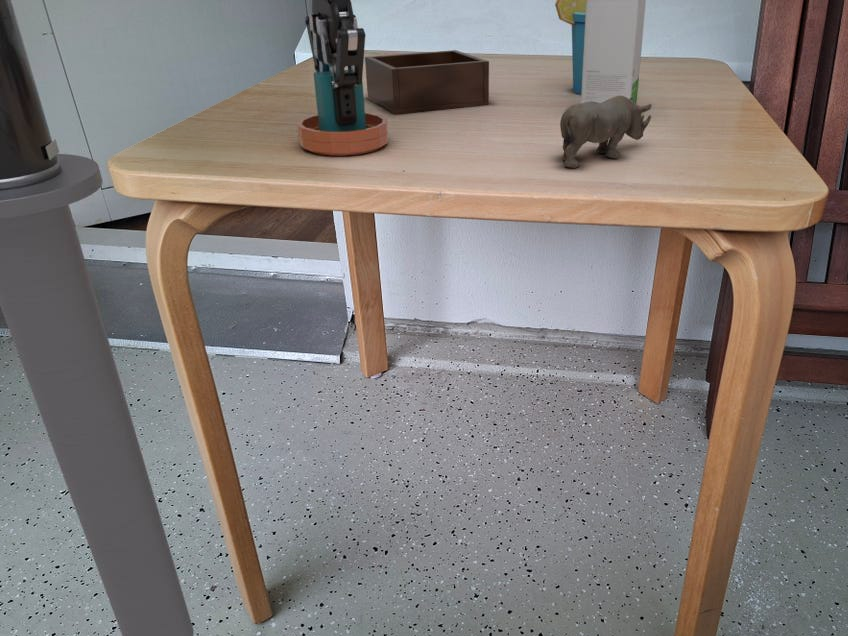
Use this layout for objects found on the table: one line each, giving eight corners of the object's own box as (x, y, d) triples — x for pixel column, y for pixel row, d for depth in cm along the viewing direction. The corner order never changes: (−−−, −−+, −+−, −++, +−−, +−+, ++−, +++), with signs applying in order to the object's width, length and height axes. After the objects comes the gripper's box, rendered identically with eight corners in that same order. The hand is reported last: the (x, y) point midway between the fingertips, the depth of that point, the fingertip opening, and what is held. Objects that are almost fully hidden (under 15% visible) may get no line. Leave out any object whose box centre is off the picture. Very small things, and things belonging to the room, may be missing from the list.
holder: (394, 114, 95) (391, 69, 93) (367, 98, 104) (364, 56, 101) (488, 104, 100) (489, 61, 98) (456, 90, 109) (455, 50, 106)
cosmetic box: (628, 123, 91) (642, -19, 83) (575, 119, 93) (584, -20, 85) (637, 108, 98) (651, -24, 90) (587, 105, 100) (597, -25, 92)
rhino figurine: (663, 148, 82) (671, 91, 78) (574, 171, 74) (578, 109, 71) (635, 140, 84) (641, 85, 81) (546, 162, 77) (549, 102, 74)
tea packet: (327, 144, 80) (320, 76, 77) (320, 138, 82) (313, 72, 79) (367, 140, 82) (362, 73, 78) (359, 134, 84) (353, 69, 80)
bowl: (313, 161, 77) (311, 136, 76) (291, 140, 84) (288, 116, 83) (400, 150, 81) (399, 126, 79) (371, 131, 88) (370, 108, 87)
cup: (617, 82, 114) (627, -28, 106) (650, 90, 108) (663, -25, 101) (541, 90, 108) (546, -25, 101) (572, 100, 103) (579, -21, 95)
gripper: (271, -62, 76) (292, 111, 85) (306, -58, 65) (326, 140, 74) (341, -63, 79) (355, 105, 88) (386, -59, 68) (396, 132, 77)
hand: (341, 120), depth 81 cm, fingers closed on tea packet, 3 cm apart
